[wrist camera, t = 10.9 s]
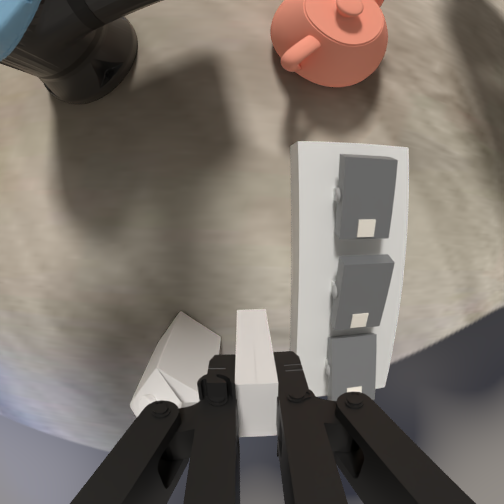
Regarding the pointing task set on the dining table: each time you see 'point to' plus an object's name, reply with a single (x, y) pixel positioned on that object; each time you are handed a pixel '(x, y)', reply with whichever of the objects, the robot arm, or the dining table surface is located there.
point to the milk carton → (177, 365)
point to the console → (337, 254)
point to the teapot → (330, 39)
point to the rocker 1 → (365, 196)
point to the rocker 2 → (351, 364)
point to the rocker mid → (360, 291)
